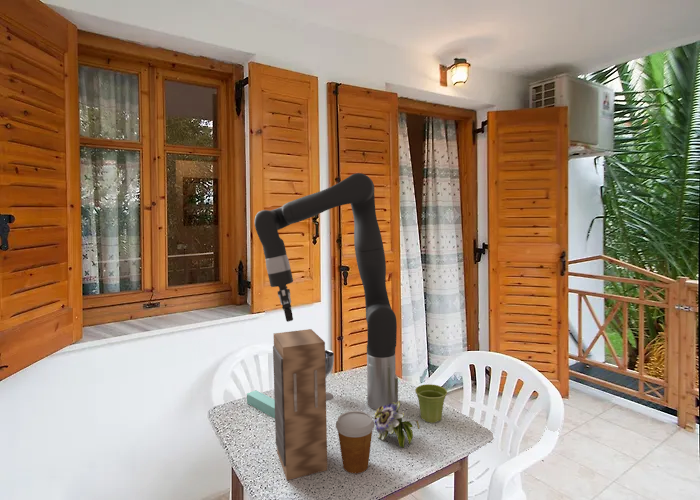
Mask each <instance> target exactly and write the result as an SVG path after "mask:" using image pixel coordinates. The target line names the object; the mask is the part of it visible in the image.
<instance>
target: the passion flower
mask: <svg viewBox="0 0 700 500" xmlns="http://www.w3.org/2000/svg"><path fill="white" fill-rule="evenodd" d="M400 407H401V401H400V400H398V402H397V403H396V404H395V403H394V402H393V403H392V402H391V403H390V404H389V405H388V404H387V406H386V405H385V406H383V407H382V406H380V407H379V408H378V409H377V410H376V411H375V413H374V418H373V419H374V420H375V421H374V426H375V427H376V429H375V430H376V431H377V433H379V434H378V437H377V439H381V440H382V441H385V440H386V439H387V438H388V435H389V434H390V435H393V434H395V435H396V437H397V441H398V445H399V447H400V448H402V449H404V448H405V443H406V438H407V442H408V445H409V446H410V444H412V441H413V437H414V431H413V428H414V425H413V423H412V422H415V423H416V425H417V430H420V428H421V427H420V423H419V419H418V420H417V419H416V420H404V421H403V418H405V413H404V412H401V411H399V409H400ZM405 434H406V436H405Z"/></svg>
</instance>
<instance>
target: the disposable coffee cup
mask: <svg viewBox="0 0 700 500" xmlns="http://www.w3.org/2000/svg"><path fill="white" fill-rule="evenodd" d="M335 428H336V431H337V434H338V441H339V449H340V456H341V461H342V469H344V471H346V472H347V473H350V474H355V475H356V474H361V473H363V472H365V471H366V470H368V468H369V462H370V453H371V444H372V437H373V430H374V428H375V421H374V420H373V417H372V416H371V415H370V414H369V413H367V412H365V411H361V410H352V411H351V410H350V411H349V410H348V411H346V412H343V413H341V414H340V415H339V416H338V417H337V419H336V422H335Z"/></svg>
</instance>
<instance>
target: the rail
mask: <svg viewBox="0 0 700 500" xmlns="http://www.w3.org/2000/svg"><path fill="white" fill-rule="evenodd" d="M246 404H248V405H249V406H251V407H253V408H255V409H257V410H258V411H260V412H262V413H264V414H266V415H268V416H270V417H271V418H273V419H275V399H274V398H272V397H270V396H268V395H266V394H265V393H262V392H261V391H259V390H257V389H256V390H253V391H251V392H248V393H246Z"/></svg>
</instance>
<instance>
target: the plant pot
mask: <svg viewBox="0 0 700 500" xmlns="http://www.w3.org/2000/svg"><path fill="white" fill-rule="evenodd" d="M414 391H415V394H416V397H417V398H418V405H419V413H420V419H422V420H423V421H424V422H427V423H432V424H434V423H437V422H440V421H441V420H442V416H443V410H444V404H445V399H446V396H447V395H448V390H447V389H446V388H445V387H443V386H440V385H437V384H432V383H431V384H430V383H428V384H421V385H419V386H416V388H415V389H414Z"/></svg>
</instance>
